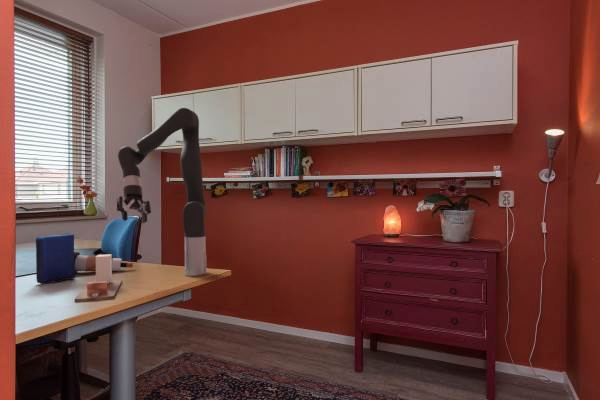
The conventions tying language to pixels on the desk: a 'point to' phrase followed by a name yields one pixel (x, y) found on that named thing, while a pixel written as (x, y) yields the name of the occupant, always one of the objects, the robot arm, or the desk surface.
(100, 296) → the rail board
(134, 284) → the desk surface
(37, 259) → the book
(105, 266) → the sleeve
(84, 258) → the grey brown bottle
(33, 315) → the desk surface
